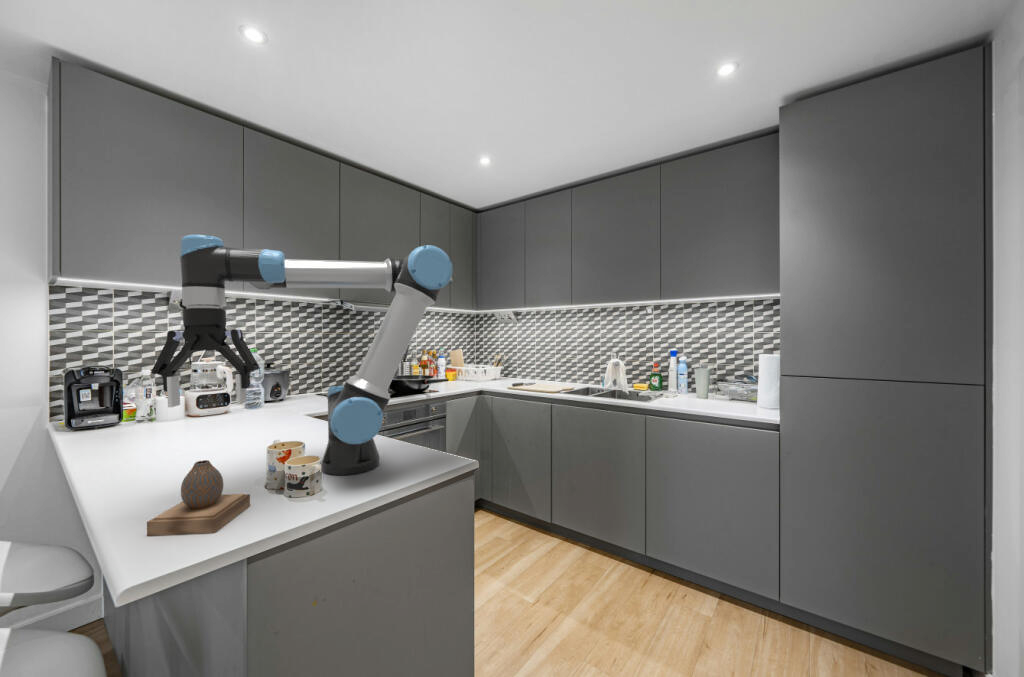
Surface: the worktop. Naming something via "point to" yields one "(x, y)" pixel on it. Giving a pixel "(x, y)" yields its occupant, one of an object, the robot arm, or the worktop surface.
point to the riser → (198, 517)
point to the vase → (202, 485)
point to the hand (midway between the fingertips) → (208, 405)
